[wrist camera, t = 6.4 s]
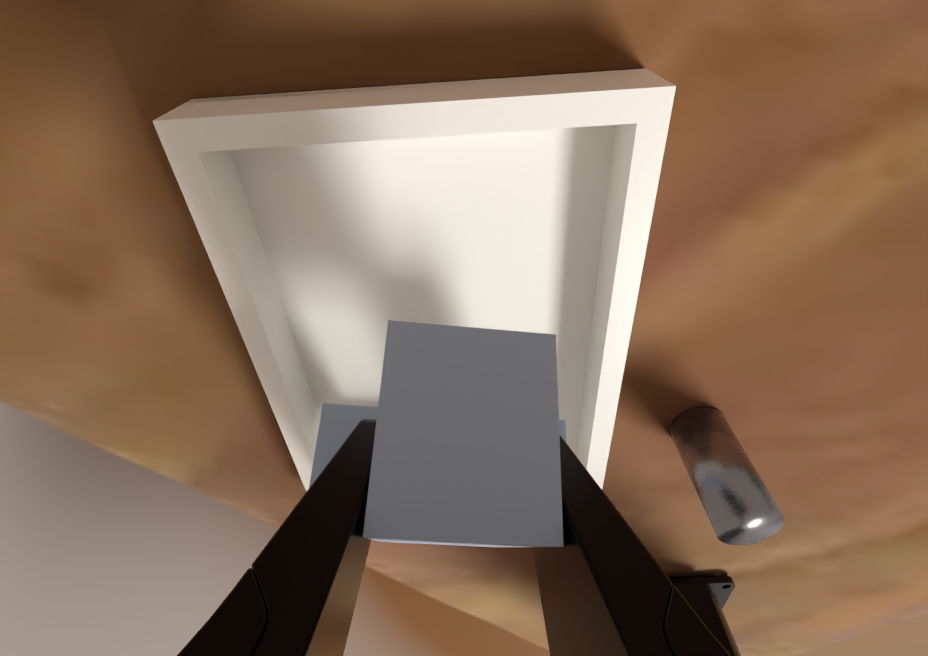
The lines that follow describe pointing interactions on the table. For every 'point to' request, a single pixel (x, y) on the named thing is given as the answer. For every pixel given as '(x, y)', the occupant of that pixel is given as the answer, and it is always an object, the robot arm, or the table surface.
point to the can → (725, 478)
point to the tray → (427, 228)
